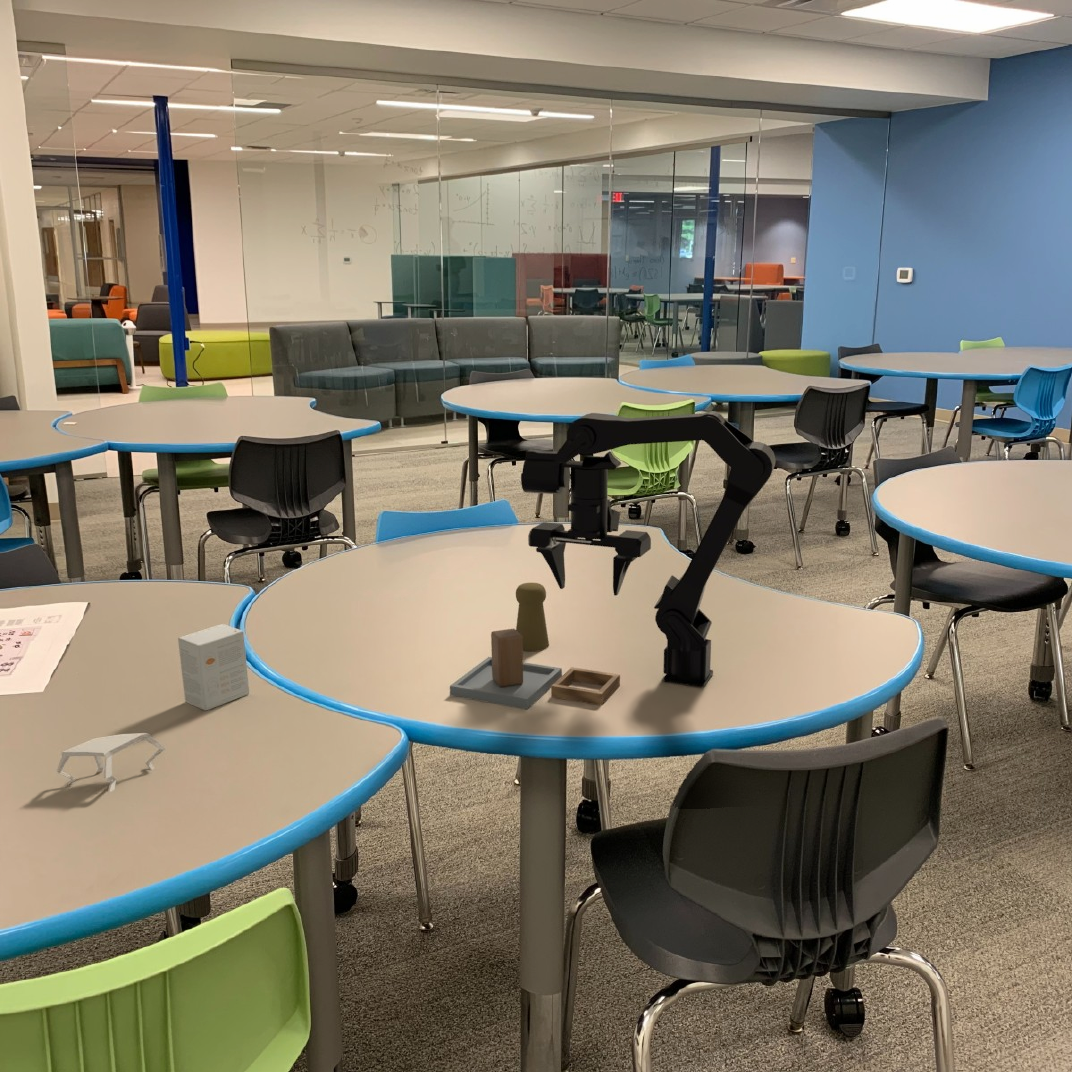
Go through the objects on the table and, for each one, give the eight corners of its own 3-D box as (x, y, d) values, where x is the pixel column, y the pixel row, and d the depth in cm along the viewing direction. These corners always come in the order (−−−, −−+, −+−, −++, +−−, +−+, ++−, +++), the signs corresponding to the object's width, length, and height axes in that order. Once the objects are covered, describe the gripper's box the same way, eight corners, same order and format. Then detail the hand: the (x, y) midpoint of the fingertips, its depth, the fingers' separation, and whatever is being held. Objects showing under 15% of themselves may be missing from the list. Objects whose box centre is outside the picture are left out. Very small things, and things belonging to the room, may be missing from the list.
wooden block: (491, 679, 158) (490, 630, 156) (515, 675, 159) (514, 627, 157) (499, 688, 154) (498, 639, 152) (524, 684, 156) (523, 635, 154)
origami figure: (84, 806, 123) (79, 769, 122) (56, 783, 129) (51, 748, 128) (176, 771, 132) (172, 736, 131) (147, 751, 137) (143, 718, 136)
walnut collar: (619, 685, 157) (620, 674, 157) (601, 705, 150) (601, 694, 149) (571, 677, 160) (571, 667, 160) (551, 696, 153) (551, 685, 153)
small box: (229, 685, 159) (223, 622, 156) (250, 694, 156) (244, 630, 153) (183, 702, 153) (176, 636, 150) (204, 711, 150) (197, 645, 147)
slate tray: (561, 677, 160) (561, 668, 160) (527, 709, 149) (527, 699, 148) (488, 666, 166) (488, 656, 165) (450, 695, 154) (449, 685, 154)
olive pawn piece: (519, 653, 171) (517, 591, 168) (510, 641, 177) (509, 580, 174) (553, 649, 173) (552, 587, 170) (543, 637, 178) (542, 577, 176)
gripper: (662, 490, 160) (660, 584, 164) (554, 481, 168) (555, 571, 172) (639, 504, 151) (638, 604, 154) (526, 495, 158) (527, 590, 162)
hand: (589, 591), depth 161 cm, fingers open, 9 cm apart
